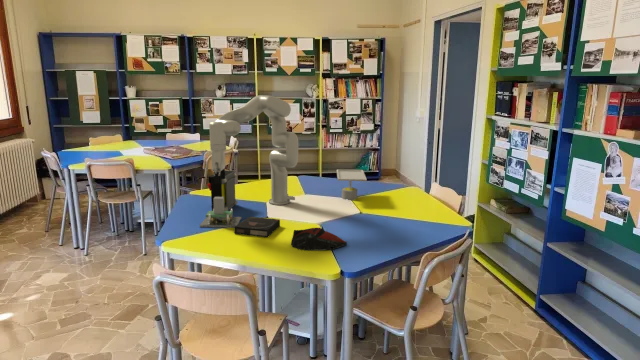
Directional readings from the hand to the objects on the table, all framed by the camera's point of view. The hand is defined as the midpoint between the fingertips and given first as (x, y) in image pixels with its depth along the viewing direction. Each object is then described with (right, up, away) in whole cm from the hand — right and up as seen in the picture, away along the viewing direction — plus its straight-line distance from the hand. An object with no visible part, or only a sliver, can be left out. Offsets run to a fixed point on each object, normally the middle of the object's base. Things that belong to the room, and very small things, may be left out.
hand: (219, 181), depth 215 cm
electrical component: (-4, -16, +29) cm, 33 cm away
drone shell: (+49, -29, -22) cm, 61 cm away
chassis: (0, -21, +5) cm, 22 cm away
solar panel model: (+69, -11, +56) cm, 89 cm away
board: (-1, -17, +4) cm, 18 cm away
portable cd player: (+20, -24, -5) cm, 32 cm away
